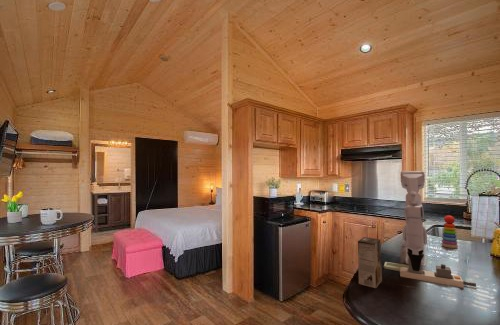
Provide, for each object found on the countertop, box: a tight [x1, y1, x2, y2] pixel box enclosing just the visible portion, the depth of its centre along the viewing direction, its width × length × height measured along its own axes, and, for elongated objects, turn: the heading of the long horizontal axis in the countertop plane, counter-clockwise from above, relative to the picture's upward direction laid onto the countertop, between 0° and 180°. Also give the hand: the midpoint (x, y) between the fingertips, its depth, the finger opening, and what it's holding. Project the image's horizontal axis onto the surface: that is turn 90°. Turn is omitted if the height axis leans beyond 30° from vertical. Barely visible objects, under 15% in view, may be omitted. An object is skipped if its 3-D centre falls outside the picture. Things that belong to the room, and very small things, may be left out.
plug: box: [407, 257, 423, 274], centre depth 105 cm, size 4×4×6 cm
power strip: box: [399, 267, 477, 289], centre depth 101 cm, size 7×24×3 cm, turn 58°
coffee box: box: [357, 236, 383, 289], centre depth 99 cm, size 9×6×16 cm
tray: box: [383, 261, 409, 272], centre depth 115 cm, size 8×10×1 cm
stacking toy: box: [441, 215, 459, 249], centre depth 157 cm, size 8×8×19 cm
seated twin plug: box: [435, 263, 452, 279], centre depth 100 cm, size 4×4×6 cm
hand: (415, 268), depth 105 cm, fingers closed on plug, 4 cm apart
